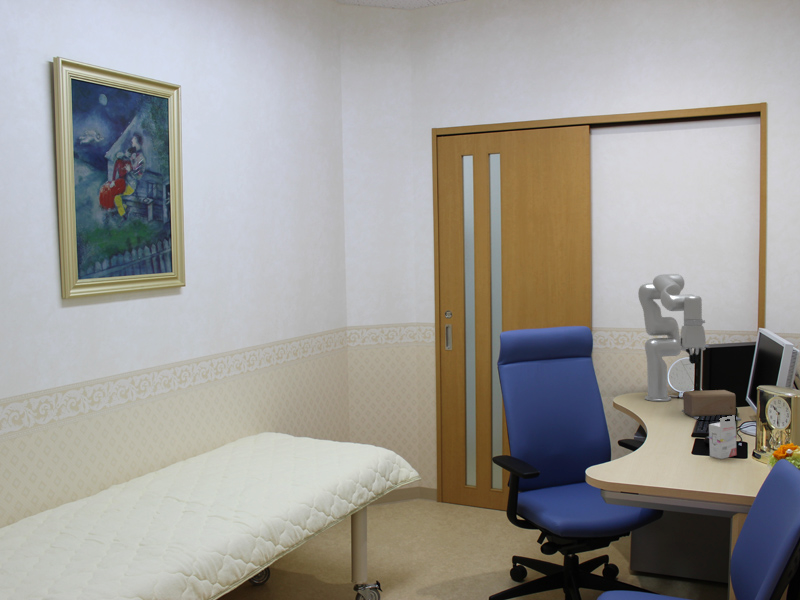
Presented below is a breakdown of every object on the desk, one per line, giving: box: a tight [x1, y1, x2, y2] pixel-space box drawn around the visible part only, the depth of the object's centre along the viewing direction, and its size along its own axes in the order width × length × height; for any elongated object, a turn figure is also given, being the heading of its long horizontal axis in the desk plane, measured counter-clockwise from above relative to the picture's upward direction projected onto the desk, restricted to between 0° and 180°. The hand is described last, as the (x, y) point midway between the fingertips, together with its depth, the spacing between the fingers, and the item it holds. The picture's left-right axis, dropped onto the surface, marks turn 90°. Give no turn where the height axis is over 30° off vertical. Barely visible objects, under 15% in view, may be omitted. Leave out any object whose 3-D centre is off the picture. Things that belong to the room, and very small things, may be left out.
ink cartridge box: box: [708, 415, 737, 460], centre depth 239 cm, size 9×5×15 cm, turn 117°
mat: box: [681, 409, 742, 421], centre depth 304 cm, size 22×18×1 cm
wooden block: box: [682, 389, 737, 417], centre depth 304 cm, size 10×10×20 cm
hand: (693, 363), depth 304 cm, fingers closed
